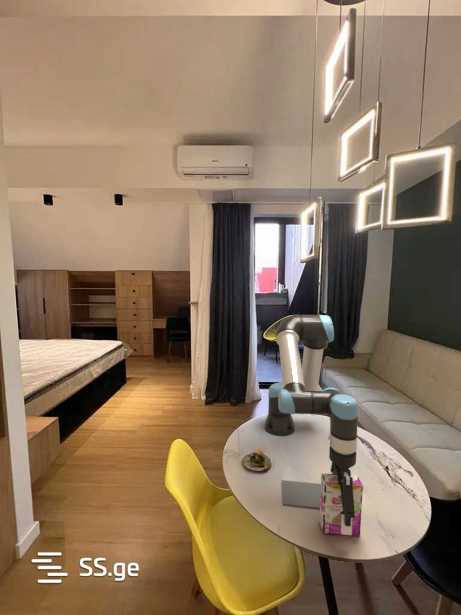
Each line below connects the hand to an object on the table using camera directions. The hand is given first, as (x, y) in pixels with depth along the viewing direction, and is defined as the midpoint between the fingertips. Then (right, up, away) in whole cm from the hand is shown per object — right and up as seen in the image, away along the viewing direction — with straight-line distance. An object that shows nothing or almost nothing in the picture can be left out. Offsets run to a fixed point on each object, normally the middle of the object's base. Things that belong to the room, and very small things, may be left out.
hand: (340, 515), depth 89 cm
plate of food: (-23, -2, +32) cm, 39 cm away
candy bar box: (0, -5, 0) cm, 5 cm away
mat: (-4, -3, +14) cm, 15 cm away
